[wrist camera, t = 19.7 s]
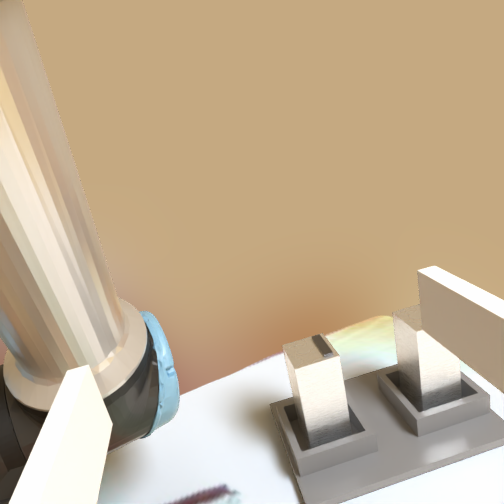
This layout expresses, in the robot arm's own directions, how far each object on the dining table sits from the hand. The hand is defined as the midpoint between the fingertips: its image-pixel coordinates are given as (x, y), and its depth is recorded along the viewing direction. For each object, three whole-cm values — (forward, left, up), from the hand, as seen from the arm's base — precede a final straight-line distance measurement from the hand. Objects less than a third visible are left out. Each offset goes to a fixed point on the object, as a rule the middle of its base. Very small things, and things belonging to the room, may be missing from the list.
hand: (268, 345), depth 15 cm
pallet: (+14, +24, -30) cm, 41 cm away
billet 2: (+21, +24, -29) cm, 43 cm away
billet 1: (+7, +24, -29) cm, 38 cm away
